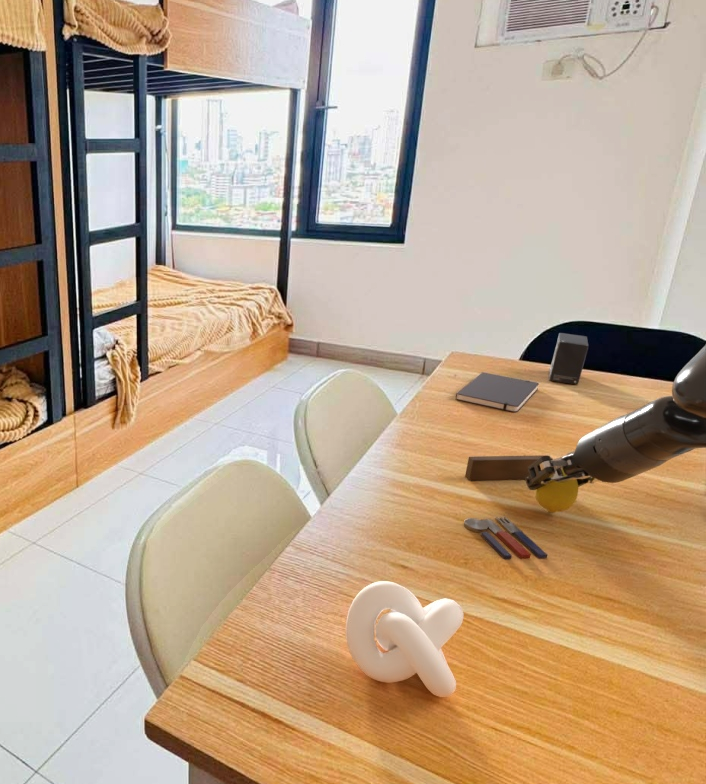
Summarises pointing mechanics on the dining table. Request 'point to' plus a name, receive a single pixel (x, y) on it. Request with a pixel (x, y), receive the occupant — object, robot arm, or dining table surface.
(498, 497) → the dining table surface
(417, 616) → the white knot sculpture
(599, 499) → the dining table surface
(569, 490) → the lemon
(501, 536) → the cutlery
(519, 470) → the back rail
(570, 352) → the small box
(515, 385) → the notebook
